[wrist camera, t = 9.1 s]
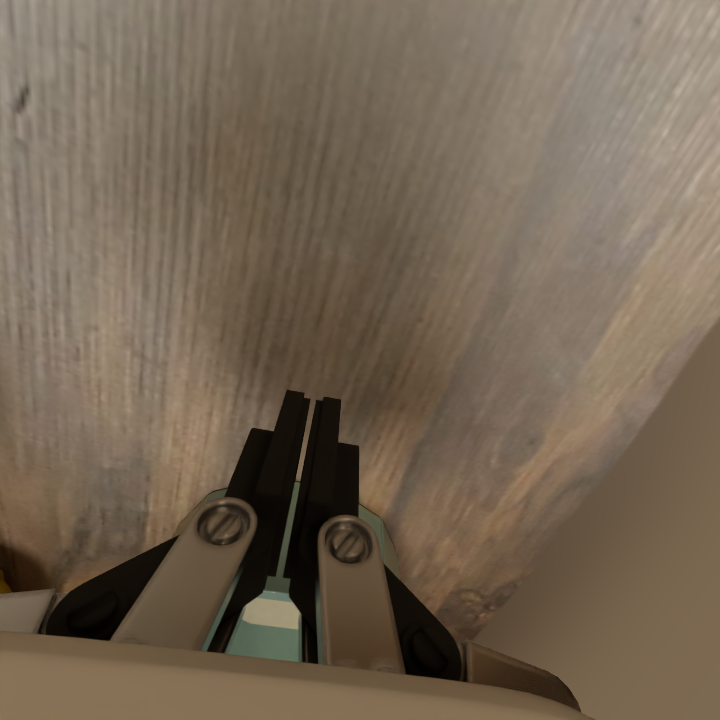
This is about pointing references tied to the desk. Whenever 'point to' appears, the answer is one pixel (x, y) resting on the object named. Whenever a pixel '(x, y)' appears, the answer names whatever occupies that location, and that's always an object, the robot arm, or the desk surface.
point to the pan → (284, 595)
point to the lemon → (3, 584)
